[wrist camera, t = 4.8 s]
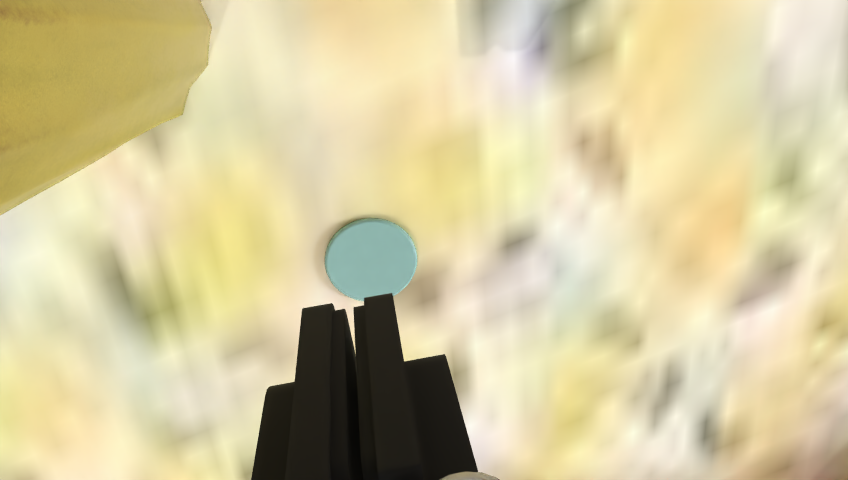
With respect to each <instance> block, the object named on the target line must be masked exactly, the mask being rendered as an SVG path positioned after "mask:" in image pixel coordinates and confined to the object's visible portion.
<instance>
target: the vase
mask: <svg viewBox="0 0 848 480" xmlns="http://www.w3.org/2000/svg"><path fill="white" fill-rule="evenodd" d="M211 29H212V27H211V24H210V22H209V19H208V17H207V15H206V13H205V11H204V9H203V6H202V4H201V0H0V215H2V214H4V213H5V212H7V211H9V210H10V209H12V208H14V207H16V206H17V205H19V204H21V203H23V202H24V201H26V200H28V199H30V198H32V197H33V196H35V195H37V194H39V193H40V192H42V191H44V190H46V189H48V188H50V187H52V186H53V185H55V184H57V183H59V182H61V181H62V180H64V179H66V178H68V177H69V176H71V175H73V174H74V173H76V172H78V171H80V170H81V169H83V168H85V167H87V166H88V165H90V164H92V163H94V162H95V161H97V160H99V159H100V158H102V157H104V156H105V155H107V154H109V153H110V152H112V151H113V150H115V149H116V148H118V147H119V146H121V145H122V144H124V143H126V142H128V141H130V140H131V139H133V138H135V137H137V136H139V135H140V134H142V133H144V132H146V131H148V130H150V129H152V128H154V127H155V126H157V125H159V124H161V123H164V122H166V121H168V120H171V119H173V118H176V117H178V116H180V115H183V111H184V107H185V102H186V99H187V96H188V93H189V90H190V87H191V86H192V85H193V83H194V82H195V81H196V80H197V78H198V77H199V76H200V75H201V74H202V72H203V71H204V70H205V68H206V67H207V66H208V51H209V40H210V34H211Z"/></svg>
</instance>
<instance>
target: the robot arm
mask: <svg viewBox="0 0 848 480" xmlns="http://www.w3.org/2000/svg"><path fill="white" fill-rule="evenodd" d="M354 327H355V347H356V355H355V350H354V346H353V341H352V337H351V332H350V327H349V323H348V318H347V314H346V310H345V309H341V310H336V311H335V309H334V306H333V304H332V303H331V304H325V305H319V306H314V307H308V308H303V309H302V316H301V326H300V335H299V345H298V355H297V365H296V375H295V382H292V383H286V384H281V385H275V386H270V387H269V388H268V389H267V392H266V395H265V401H264V407H263V413H262V419H261V425H260V431H259V436H258V442H257V448H256V454H255V460H254V466H253V472H252V478H251V480H499V479H498V478H496V477H493V476H490V475H487V474H484V473H480V472H478V470H477V466H476V463H475V459H474V455H473V452H472V448H471V445H470V441H469V437H468V434H467V430H466V427H465V423H464V419H463V416H462V412H461V409H460V405H459V402H458V398H457V394H456V391H455V387H454V384H453V380H452V376H451V373H450V369H449V366H448V362H447V359H446V356H445V354H443V355H438V356H433V357H427V358H422V359H416V360H411V361H405V362H404V359H403V353H402V348H401V342H400V336H399V330H398V324H397V318H396V312H395V306H394V300H393V294H392V293H388V294H382V295H377V296H371V297H365V298H364V306H358V307H354Z"/></svg>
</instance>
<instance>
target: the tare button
mask: <svg viewBox="0 0 848 480" xmlns="http://www.w3.org/2000/svg"><path fill="white" fill-rule="evenodd" d="M416 266H417V253H416V248H415V245H414V243H413V241H412V239H411V237H410V236H409V235H408V233H407V232H406V231H405V230H404V229H402V228H401V227H400V226H398V225H396V224H395V223H392V222H390V221H387V220H383V219H377V218H367V219H361V220H357V221H354V222H351V223H349V224H347V225H346V226H344V227H343V228H341V229H340V230H339V231H338V232H337V233H336V234H335V235H334V236H333V238H332V239H331V241H330V242H329V245H328V247H327V250H326V255H325V267H326V272H327V275H328V277H329V279H330V281H331V282H332V284H333V285H334V286H335V287H336V288H337V289H338V290H339V291H340V292H342V293H343V294H345V295H346V296H348V297H350V298H353V299H356V300H360V301H364V298H365V297H371V296H377V295H382V294H388V293H392V294H393V296H394V295H396V294H397V293H399V292H400V291H401V290H403V289H404V288H405V287H406V286H407V285H408V283H409V282H410V281H411V279H412V277H413V275H414V273H415V270H416Z"/></svg>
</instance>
